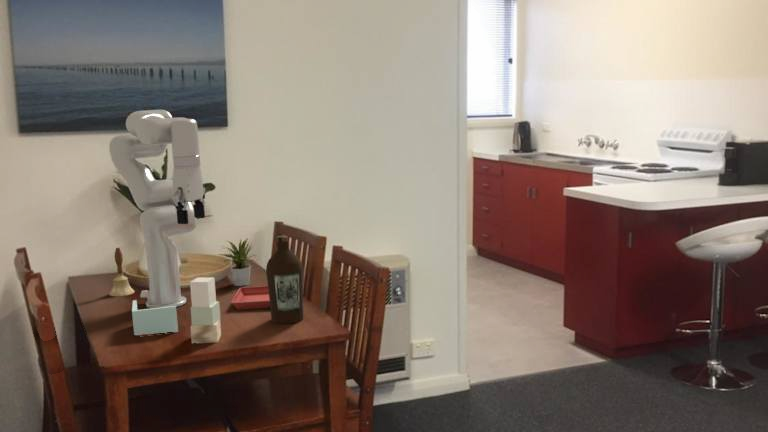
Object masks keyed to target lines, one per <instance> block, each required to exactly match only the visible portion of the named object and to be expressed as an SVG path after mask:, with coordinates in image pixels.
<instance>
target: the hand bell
mask: <svg viewBox="0 0 768 432" xmlns="http://www.w3.org/2000/svg"><path fill="white" fill-rule="evenodd" d="M123 256H124V255H123V252H122V250H121V248H120V247H116V248H115V252H114V261H115V264H116V267H117V268H116V270H117V276H116V277H115V278H114V279H113V287H112V288H111V291H110V292H109V293H108V295H109V296H110V297H125V296H130V295H133V294H135V292H136V291H135V290H134V289H133V288H132V287H131V285H130V283H129V280H128V279H129V278H128V277H127V276H125V275H124V271H123V262H124V260H123V259H124V257H123Z"/></svg>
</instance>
